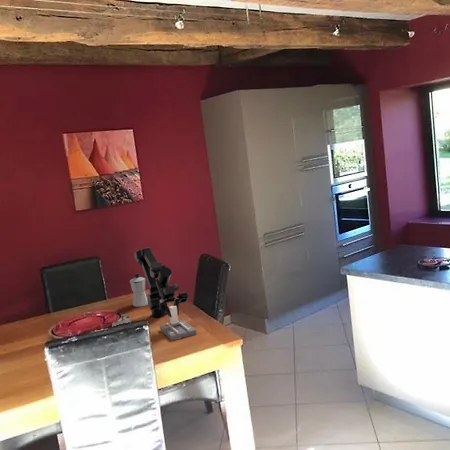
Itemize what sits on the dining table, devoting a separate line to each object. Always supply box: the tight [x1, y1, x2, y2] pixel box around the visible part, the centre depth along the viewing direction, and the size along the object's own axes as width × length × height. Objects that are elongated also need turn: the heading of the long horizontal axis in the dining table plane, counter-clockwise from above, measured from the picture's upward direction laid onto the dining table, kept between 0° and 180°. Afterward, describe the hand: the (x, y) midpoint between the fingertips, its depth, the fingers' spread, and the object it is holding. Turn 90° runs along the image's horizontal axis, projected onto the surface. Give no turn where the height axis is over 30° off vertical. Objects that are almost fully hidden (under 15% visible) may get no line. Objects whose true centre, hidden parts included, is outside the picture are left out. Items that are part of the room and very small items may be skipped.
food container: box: [111, 314, 132, 328], centre depth 231 cm, size 12×6×10 cm, turn 168°
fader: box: [168, 304, 180, 327], centre depth 236 cm, size 3×4×9 cm
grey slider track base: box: [159, 320, 197, 341], centre depth 234 cm, size 16×12×3 cm
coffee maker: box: [129, 272, 148, 308], centre depth 281 cm, size 15×9×18 cm, turn 179°
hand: (174, 316), depth 235 cm, fingers closed on fader, 3 cm apart
